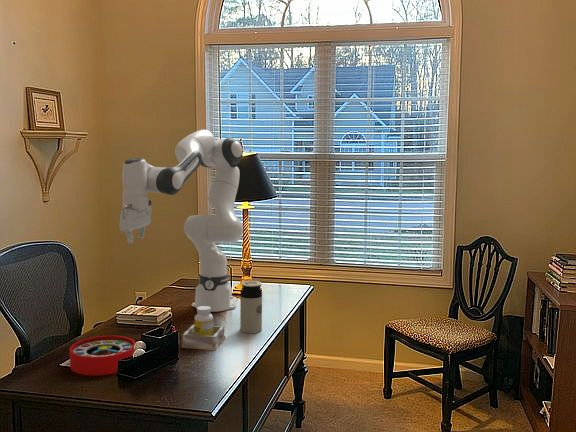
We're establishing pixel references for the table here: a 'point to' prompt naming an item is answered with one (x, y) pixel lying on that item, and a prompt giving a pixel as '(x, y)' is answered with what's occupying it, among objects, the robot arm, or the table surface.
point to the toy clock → (100, 354)
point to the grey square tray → (203, 339)
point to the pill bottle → (203, 321)
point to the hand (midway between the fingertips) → (135, 240)
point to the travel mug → (251, 307)
